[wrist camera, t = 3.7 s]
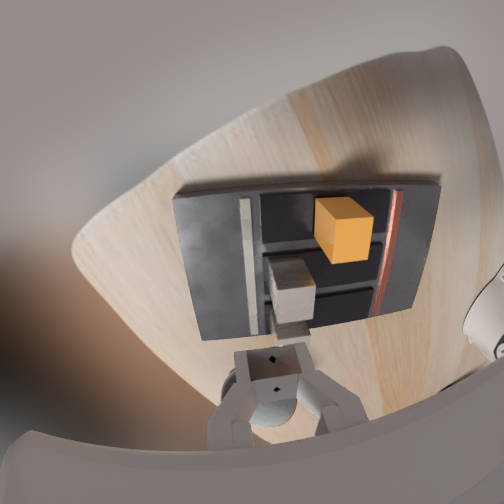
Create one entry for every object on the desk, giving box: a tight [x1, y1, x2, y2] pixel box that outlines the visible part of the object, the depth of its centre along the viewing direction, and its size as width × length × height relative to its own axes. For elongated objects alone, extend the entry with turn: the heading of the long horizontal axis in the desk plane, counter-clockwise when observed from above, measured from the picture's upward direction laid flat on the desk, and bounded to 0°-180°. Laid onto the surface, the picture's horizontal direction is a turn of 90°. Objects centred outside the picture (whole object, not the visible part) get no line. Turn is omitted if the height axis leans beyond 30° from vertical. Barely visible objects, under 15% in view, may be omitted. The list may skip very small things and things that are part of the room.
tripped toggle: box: [314, 197, 374, 264], centre depth 21 cm, size 3×4×4 cm
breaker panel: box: [172, 180, 441, 351], centre depth 25 cm, size 26×16×6 cm, turn 93°
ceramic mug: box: [221, 370, 297, 427], centre depth 33 cm, size 11×8×8 cm
